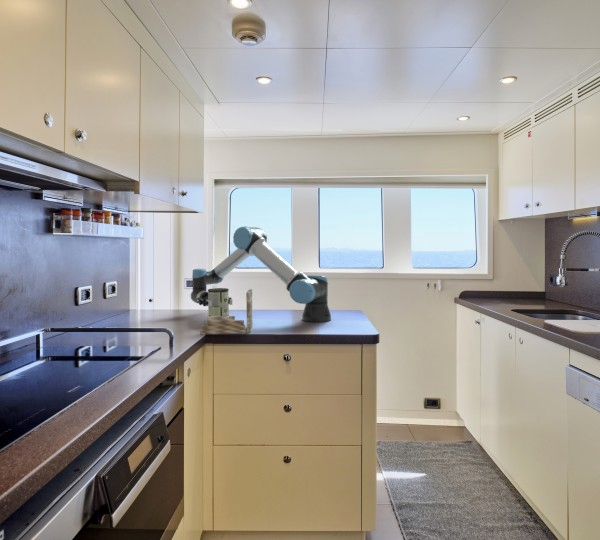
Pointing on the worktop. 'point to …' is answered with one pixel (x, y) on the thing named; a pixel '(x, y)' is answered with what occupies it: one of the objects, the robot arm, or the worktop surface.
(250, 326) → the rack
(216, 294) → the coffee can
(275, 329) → the worktop surface
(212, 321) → the offcut stack
